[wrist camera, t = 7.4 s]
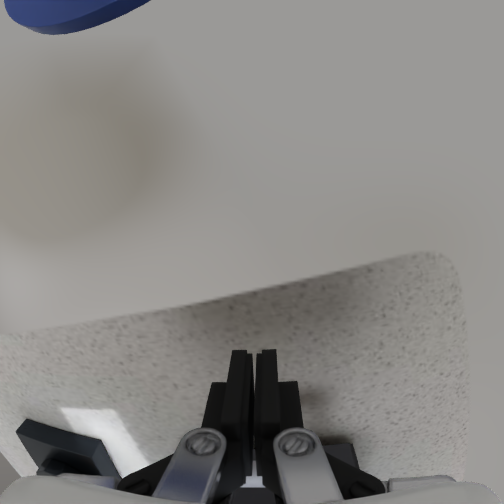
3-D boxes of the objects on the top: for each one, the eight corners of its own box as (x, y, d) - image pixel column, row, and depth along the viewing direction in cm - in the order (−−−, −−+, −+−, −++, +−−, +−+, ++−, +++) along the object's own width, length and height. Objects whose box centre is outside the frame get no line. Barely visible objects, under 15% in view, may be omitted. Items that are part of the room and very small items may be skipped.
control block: (26, 418, 21) (5, 442, 17) (101, 439, 20) (83, 472, 17) (67, 485, 24) (55, 508, 20) (137, 504, 23) (127, 532, 19)
